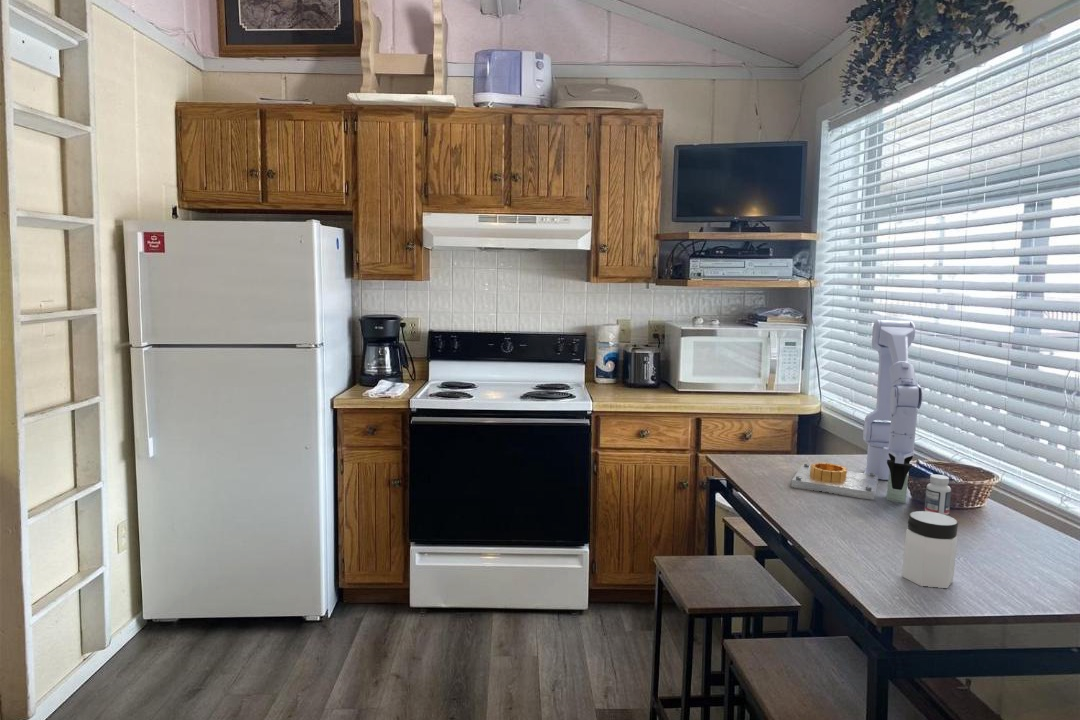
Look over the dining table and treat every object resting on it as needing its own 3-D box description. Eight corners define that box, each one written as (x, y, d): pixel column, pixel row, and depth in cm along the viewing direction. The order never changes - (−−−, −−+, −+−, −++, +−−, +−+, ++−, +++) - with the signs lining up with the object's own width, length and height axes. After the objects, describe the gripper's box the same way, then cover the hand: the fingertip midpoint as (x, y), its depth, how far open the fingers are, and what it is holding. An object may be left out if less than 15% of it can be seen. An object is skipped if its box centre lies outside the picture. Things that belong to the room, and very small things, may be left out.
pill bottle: (943, 509, 183) (946, 474, 182) (952, 516, 178) (956, 480, 177) (920, 508, 183) (924, 472, 182) (929, 515, 178) (933, 479, 177)
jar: (909, 566, 147) (915, 507, 145) (956, 578, 142) (962, 517, 140) (897, 580, 140) (902, 518, 139) (945, 593, 135) (952, 529, 133)
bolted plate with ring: (801, 471, 214) (802, 455, 213) (877, 482, 205) (879, 466, 204) (791, 487, 198) (792, 470, 197) (873, 500, 189) (875, 482, 188)
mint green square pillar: (887, 495, 193) (890, 464, 192) (906, 498, 191) (909, 467, 190) (886, 500, 189) (889, 468, 188) (905, 503, 187) (908, 471, 186)
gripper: (886, 425, 196) (881, 476, 198) (883, 436, 183) (878, 489, 185) (916, 429, 193) (911, 480, 194) (915, 439, 180) (910, 494, 182)
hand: (897, 485), depth 189 cm, fingers open, 7 cm apart
